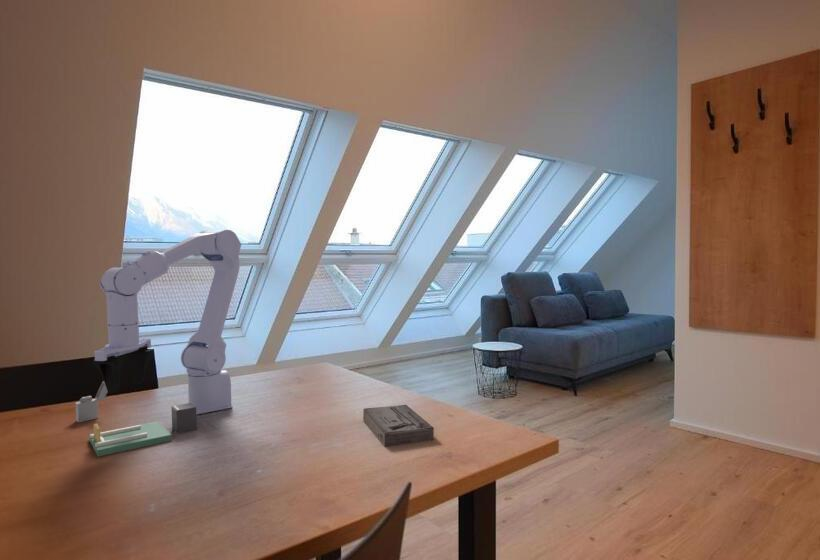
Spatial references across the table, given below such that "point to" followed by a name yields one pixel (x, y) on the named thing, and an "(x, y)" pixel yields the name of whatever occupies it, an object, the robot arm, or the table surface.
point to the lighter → (90, 405)
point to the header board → (128, 438)
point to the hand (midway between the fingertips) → (126, 387)
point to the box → (397, 425)
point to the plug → (184, 418)
